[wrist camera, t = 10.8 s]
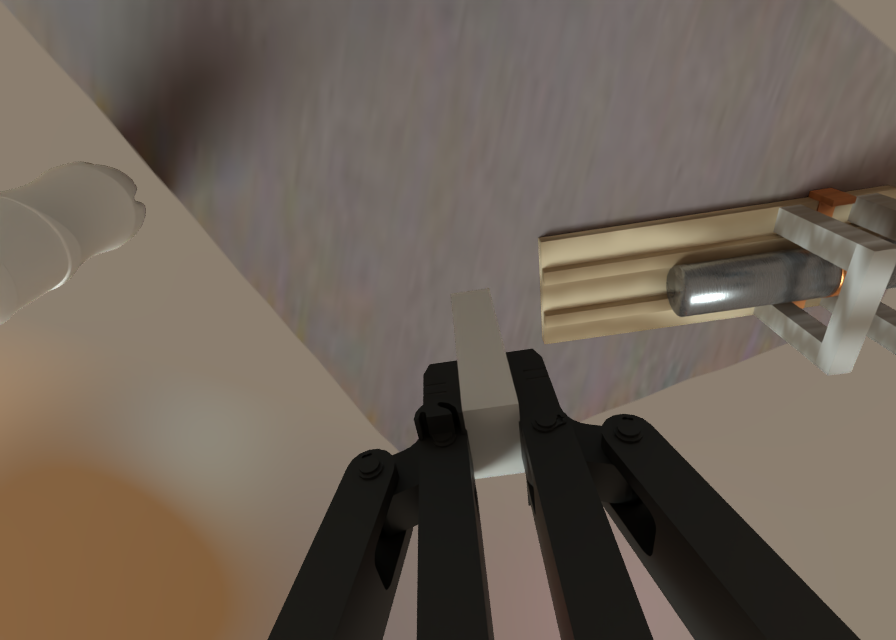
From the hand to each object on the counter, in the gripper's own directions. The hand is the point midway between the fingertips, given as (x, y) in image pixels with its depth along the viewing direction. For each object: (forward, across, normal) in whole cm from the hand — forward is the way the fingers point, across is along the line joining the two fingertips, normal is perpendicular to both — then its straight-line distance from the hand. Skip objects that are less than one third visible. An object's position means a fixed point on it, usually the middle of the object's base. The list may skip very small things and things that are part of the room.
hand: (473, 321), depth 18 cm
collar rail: (+26, +25, -14) cm, 39 cm away
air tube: (+25, +30, -14) cm, 42 cm away
